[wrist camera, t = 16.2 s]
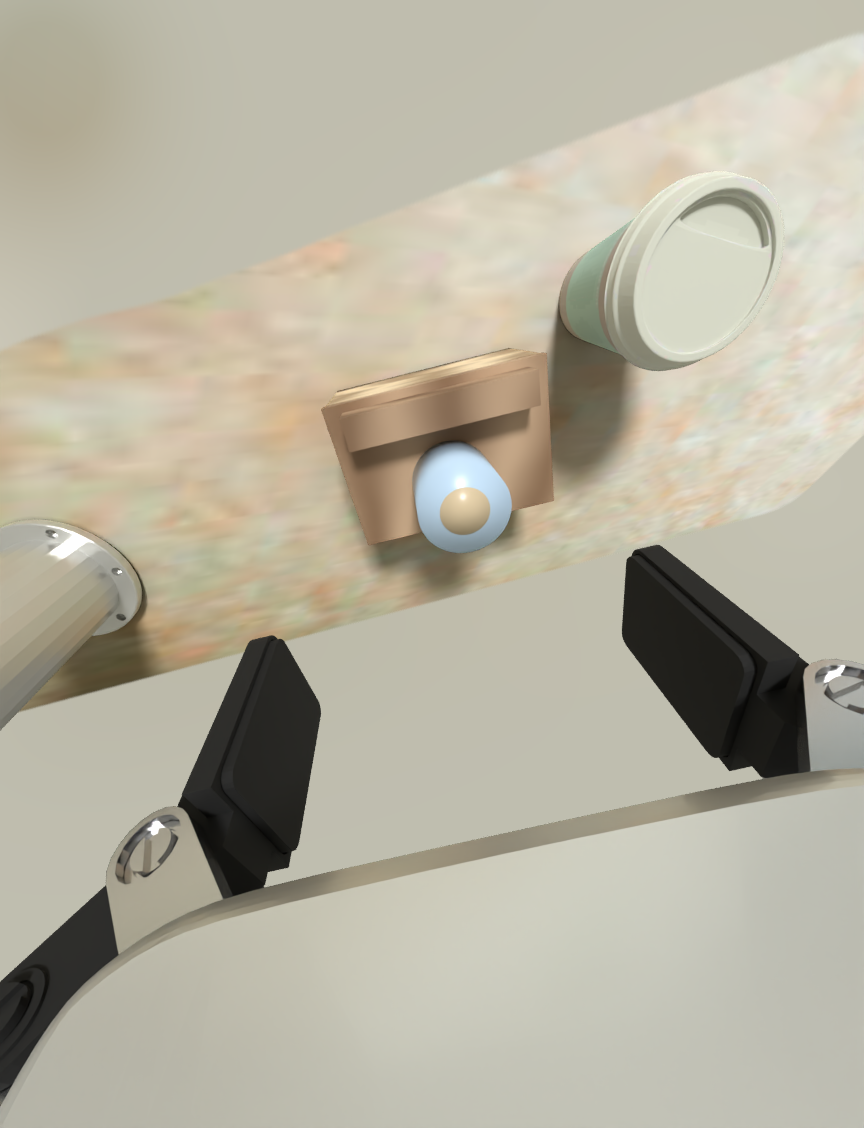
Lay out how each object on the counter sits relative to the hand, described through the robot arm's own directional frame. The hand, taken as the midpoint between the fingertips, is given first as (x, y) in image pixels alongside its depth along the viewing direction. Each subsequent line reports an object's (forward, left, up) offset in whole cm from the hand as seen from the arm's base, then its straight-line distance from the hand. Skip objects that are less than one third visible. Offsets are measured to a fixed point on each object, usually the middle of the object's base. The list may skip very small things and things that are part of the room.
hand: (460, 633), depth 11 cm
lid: (+2, -1, -19) cm, 19 cm away
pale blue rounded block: (+2, -3, -18) cm, 19 cm away
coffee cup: (+16, +6, -26) cm, 32 cm away
